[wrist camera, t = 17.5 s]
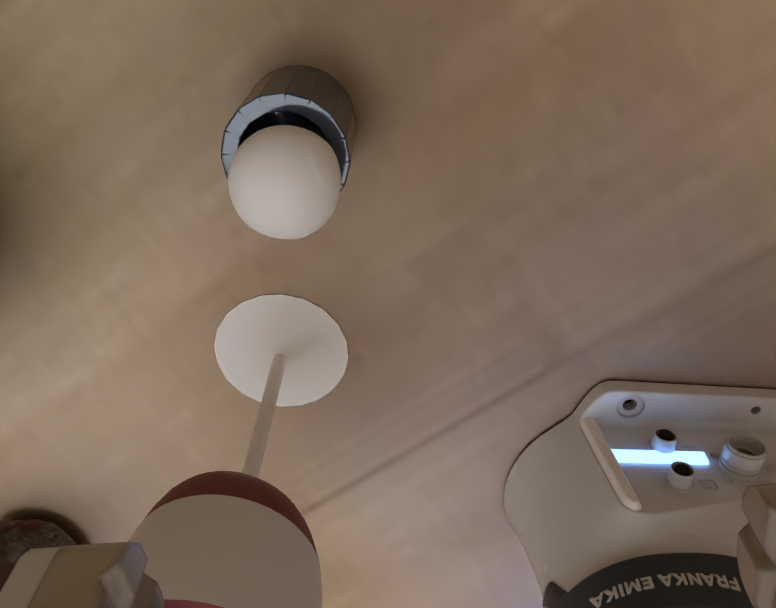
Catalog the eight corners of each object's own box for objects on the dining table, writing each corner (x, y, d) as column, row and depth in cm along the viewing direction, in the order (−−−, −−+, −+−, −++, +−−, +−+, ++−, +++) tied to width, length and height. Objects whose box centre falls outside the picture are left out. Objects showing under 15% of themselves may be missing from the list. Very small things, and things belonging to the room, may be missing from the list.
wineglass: (238, 424, 48) (132, 774, 29) (187, 299, 44) (23, 618, 25) (368, 401, 47) (345, 750, 28) (330, 272, 43) (272, 582, 24)
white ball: (289, 211, 36) (278, 278, 33) (214, 145, 34) (193, 210, 30) (365, 156, 34) (362, 222, 31) (292, 81, 32) (279, 142, 28)
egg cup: (346, 57, 37) (337, 85, 32) (364, 167, 40) (358, 210, 35) (233, 73, 37) (207, 103, 32) (259, 181, 40) (237, 224, 35)
